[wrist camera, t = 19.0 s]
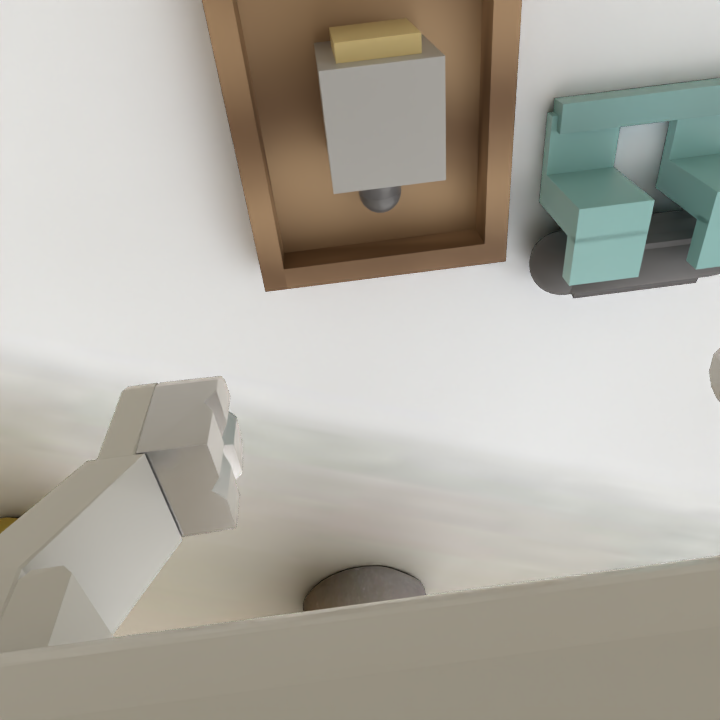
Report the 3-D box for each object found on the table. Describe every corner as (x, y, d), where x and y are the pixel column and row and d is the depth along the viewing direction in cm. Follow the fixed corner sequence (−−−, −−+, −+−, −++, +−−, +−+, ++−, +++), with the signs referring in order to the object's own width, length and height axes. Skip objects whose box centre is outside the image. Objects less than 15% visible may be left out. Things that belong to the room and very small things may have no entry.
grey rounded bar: (735, 195, 28) (769, 235, 26) (710, 245, 31) (741, 285, 29) (526, 221, 28) (545, 263, 26) (517, 269, 30) (535, 311, 29)
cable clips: (708, 218, 29) (764, 260, 26) (535, 240, 29) (569, 285, 26) (747, 74, 25) (821, 100, 22) (548, 98, 25) (590, 129, 22)
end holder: (494, 241, 29) (505, 261, 27) (266, 270, 29) (265, 291, 27) (509, -96, 21) (527, -96, 19) (197, -59, 21) (189, -57, 19)
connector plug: (423, 196, 27) (446, 246, 23) (334, 207, 27) (341, 259, 23) (417, 12, 22) (445, 34, 18) (311, 24, 22) (315, 50, 18)
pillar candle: (312, 641, 49) (323, 874, 38) (292, 574, 44) (297, 825, 32) (429, 623, 50) (475, 849, 38) (424, 554, 44) (478, 796, 32)
